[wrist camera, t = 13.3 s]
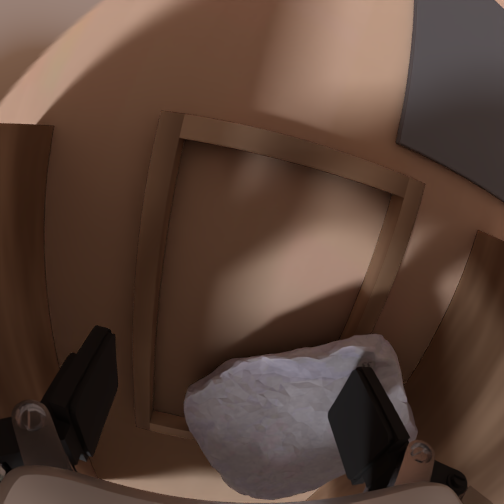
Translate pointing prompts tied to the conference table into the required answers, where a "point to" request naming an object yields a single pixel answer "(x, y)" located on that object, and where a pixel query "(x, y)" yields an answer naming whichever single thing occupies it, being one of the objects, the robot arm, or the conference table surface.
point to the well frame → (359, 323)
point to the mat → (457, 89)
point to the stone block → (285, 414)
